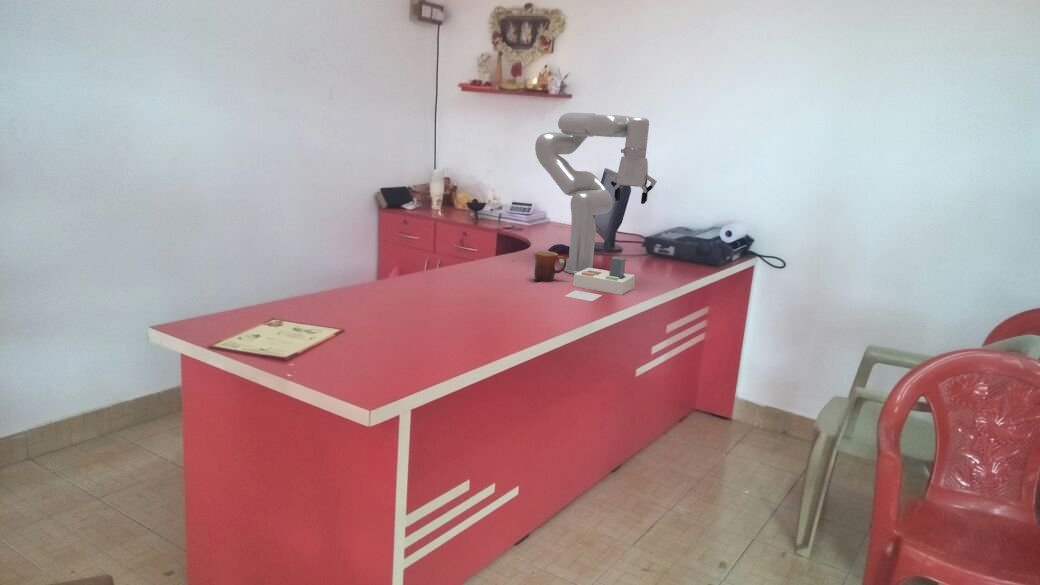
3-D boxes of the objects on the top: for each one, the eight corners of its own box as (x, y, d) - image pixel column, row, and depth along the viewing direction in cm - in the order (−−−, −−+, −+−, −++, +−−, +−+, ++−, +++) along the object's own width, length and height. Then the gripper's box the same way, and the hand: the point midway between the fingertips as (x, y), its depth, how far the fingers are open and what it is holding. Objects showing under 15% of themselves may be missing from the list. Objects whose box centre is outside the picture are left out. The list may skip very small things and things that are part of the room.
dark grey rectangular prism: (608, 286, 251) (611, 258, 248) (612, 283, 254) (614, 256, 252) (618, 287, 249) (621, 260, 247) (622, 285, 253) (625, 258, 250)
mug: (530, 282, 255) (532, 254, 253) (532, 277, 264) (534, 250, 261) (564, 285, 254) (566, 257, 252) (565, 280, 263) (567, 252, 260)
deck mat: (563, 297, 237) (563, 296, 237) (575, 291, 246) (575, 290, 246) (591, 303, 233) (591, 301, 233) (602, 296, 242) (602, 295, 242)
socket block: (572, 287, 252) (574, 271, 250) (587, 280, 264) (588, 265, 262) (621, 296, 244) (622, 280, 243) (633, 288, 256) (635, 273, 255)
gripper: (608, 151, 251) (603, 200, 255) (655, 155, 243) (650, 205, 248) (615, 151, 257) (610, 198, 262) (662, 155, 250) (656, 203, 254)
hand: (630, 201), depth 255 cm, fingers open, 9 cm apart
